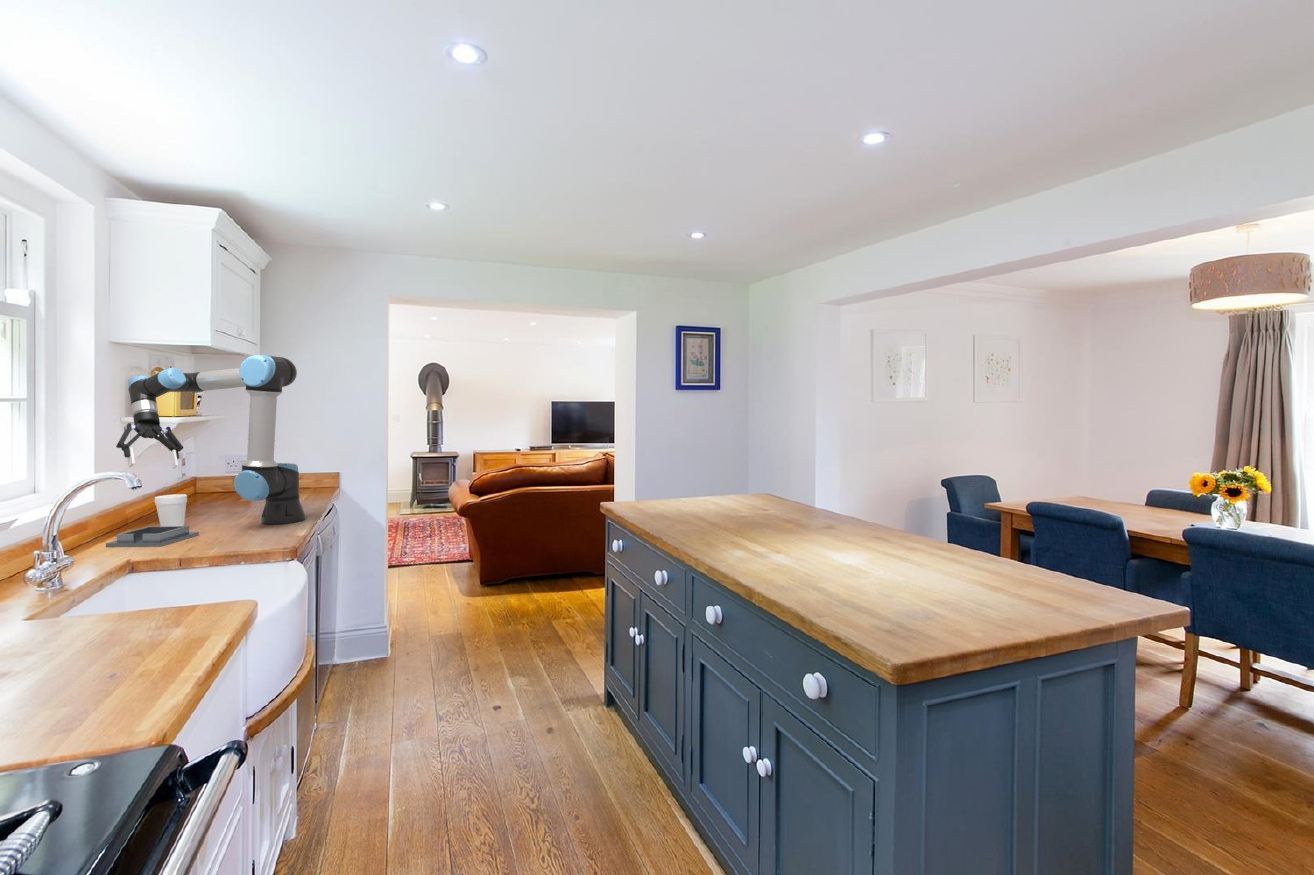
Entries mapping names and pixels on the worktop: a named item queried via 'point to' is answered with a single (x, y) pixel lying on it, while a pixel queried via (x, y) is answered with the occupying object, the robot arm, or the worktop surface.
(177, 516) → the foam cup
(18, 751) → the worktop surface
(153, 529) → the pocket plate
